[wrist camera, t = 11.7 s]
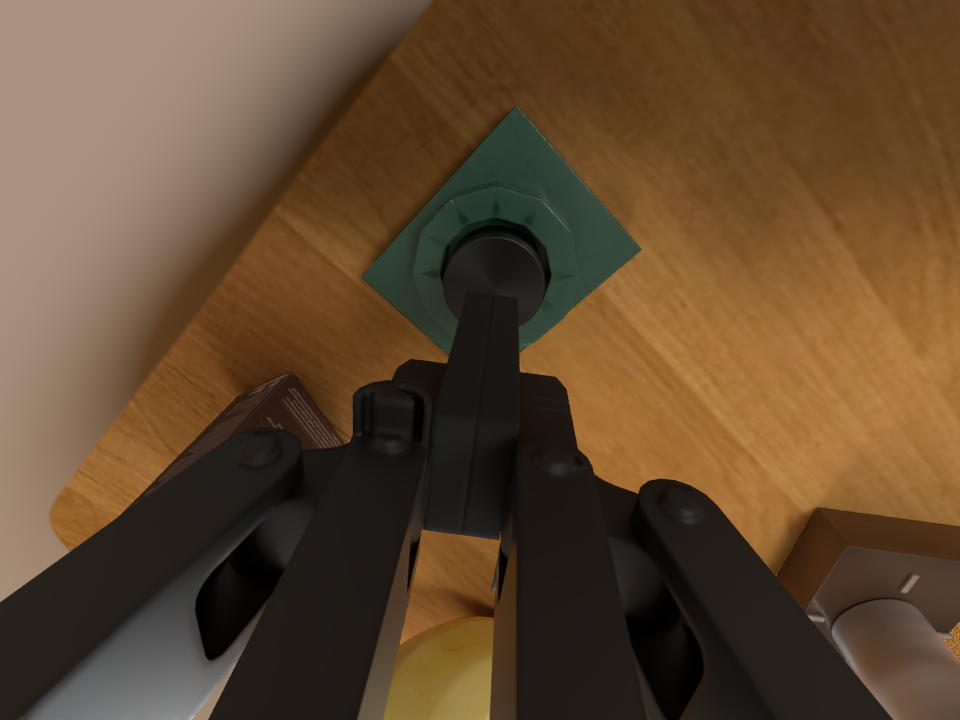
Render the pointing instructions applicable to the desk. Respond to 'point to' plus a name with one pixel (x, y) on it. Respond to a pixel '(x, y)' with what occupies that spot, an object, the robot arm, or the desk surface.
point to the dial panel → (874, 568)
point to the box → (258, 424)
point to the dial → (900, 660)
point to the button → (496, 270)
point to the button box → (512, 203)
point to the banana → (444, 673)
